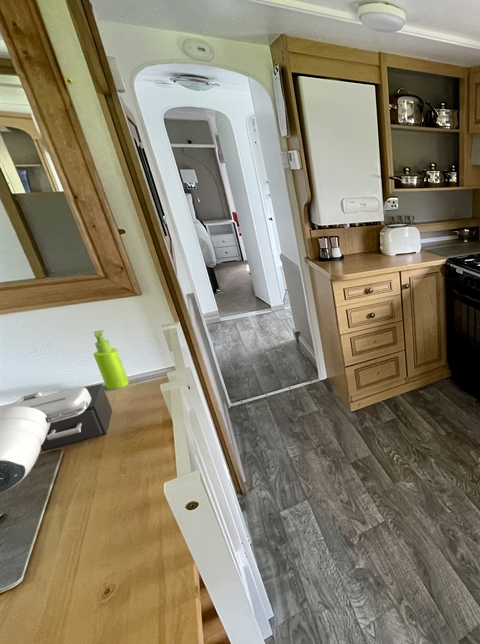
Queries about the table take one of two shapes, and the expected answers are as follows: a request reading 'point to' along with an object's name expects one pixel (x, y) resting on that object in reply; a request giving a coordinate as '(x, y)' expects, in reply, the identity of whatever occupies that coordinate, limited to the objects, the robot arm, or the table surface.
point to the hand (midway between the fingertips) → (33, 396)
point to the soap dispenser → (109, 363)
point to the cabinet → (97, 409)
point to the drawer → (72, 430)
